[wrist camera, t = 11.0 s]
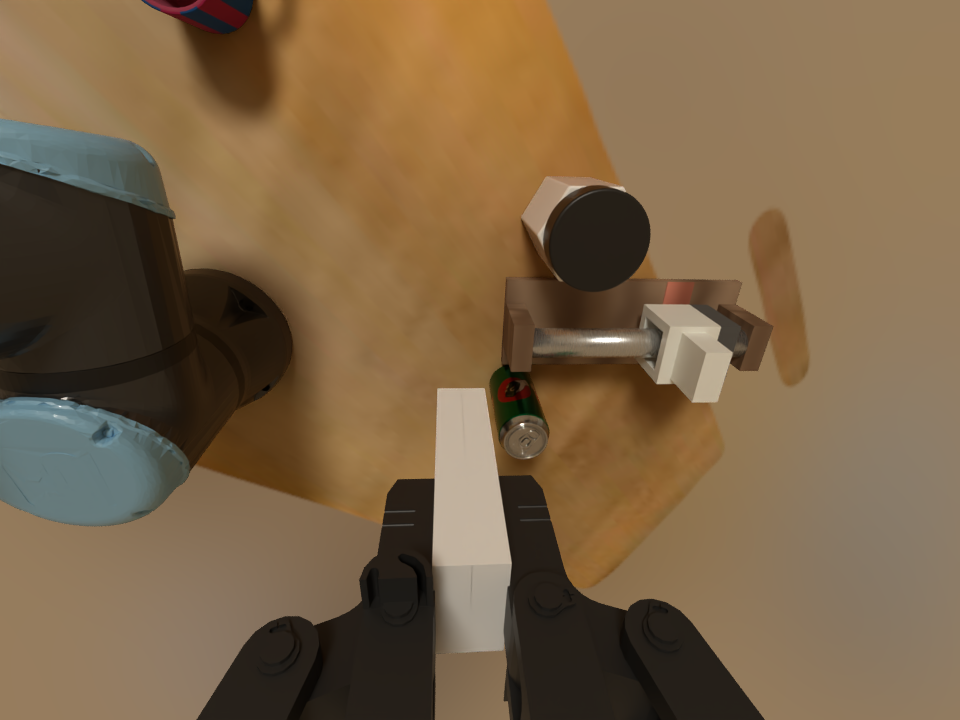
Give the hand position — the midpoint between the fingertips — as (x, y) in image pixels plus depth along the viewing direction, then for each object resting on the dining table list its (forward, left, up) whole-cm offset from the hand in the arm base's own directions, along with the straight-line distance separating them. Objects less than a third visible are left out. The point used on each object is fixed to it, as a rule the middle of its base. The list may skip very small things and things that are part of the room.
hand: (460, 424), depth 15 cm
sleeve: (+23, -10, -32) cm, 40 cm away
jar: (+12, +1, -35) cm, 37 cm away
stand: (+19, -10, -34) cm, 41 cm away
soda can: (+7, -18, -35) cm, 40 cm away
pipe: (+19, -10, -30) cm, 37 cm away
